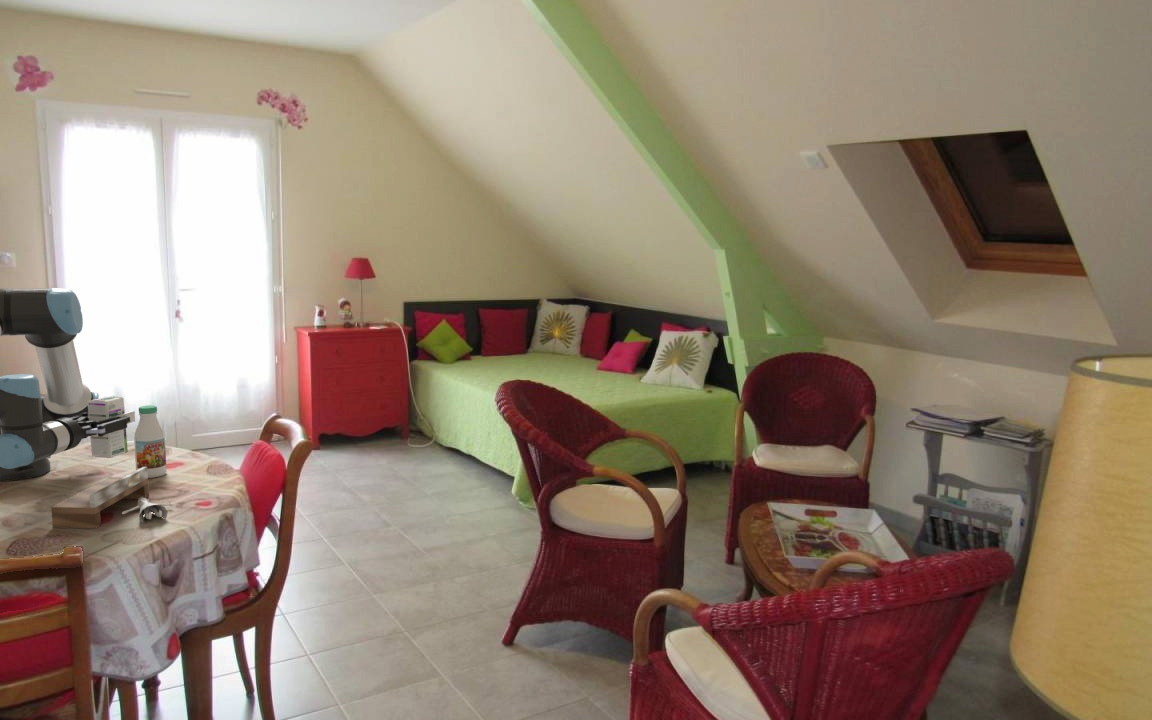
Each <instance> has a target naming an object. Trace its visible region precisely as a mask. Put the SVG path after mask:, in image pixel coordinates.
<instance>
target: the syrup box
mask: <svg viewBox="0 0 1152 720" xmlns="http://www.w3.org/2000/svg"><path fill="white" fill-rule="evenodd" d="M87 403H88V415H89V421H91V420H92V421H101V420H106V419H111V418H115V416H117V415H120V414H124V413H126V411H125V399H124V397H121V396H102V397H99V398H98V399H94V400H89V401H87ZM90 425H91V424H90ZM127 437H128V436H127V428H125V429H122V430H118V431H115V432H112V433H109V434H106V435H104V436H102V437H99V436H98V434H97V435H93V436H89V438H90V450H91V457H95V458H101V459H102V458H103V459H105V458H107V459H113V458H115V457H118V456H120V455H123V454H127V453H128V440H127Z"/></svg>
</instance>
